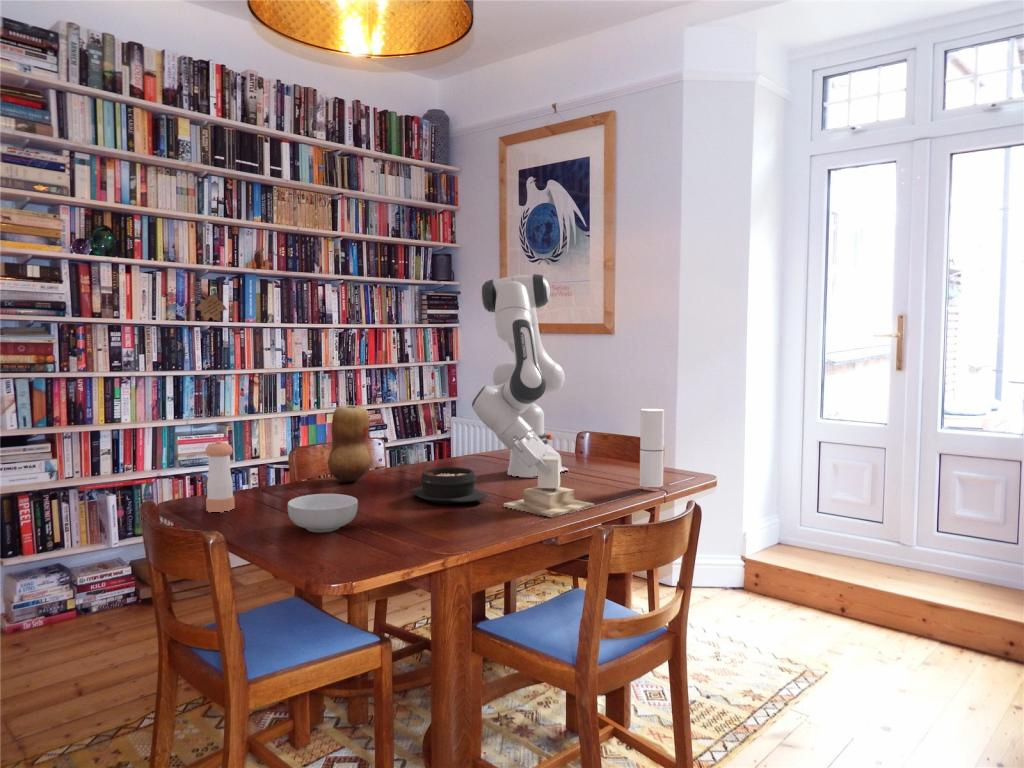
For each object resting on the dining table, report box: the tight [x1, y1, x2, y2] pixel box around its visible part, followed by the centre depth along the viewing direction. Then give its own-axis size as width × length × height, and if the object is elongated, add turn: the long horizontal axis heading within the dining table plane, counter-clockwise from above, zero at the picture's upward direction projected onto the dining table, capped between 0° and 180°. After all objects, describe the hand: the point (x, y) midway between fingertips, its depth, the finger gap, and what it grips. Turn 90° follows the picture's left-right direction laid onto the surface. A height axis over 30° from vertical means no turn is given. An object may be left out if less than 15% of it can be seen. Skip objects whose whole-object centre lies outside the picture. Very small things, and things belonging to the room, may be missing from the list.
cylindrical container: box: [639, 408, 665, 487], centre depth 232 cm, size 7×7×25 cm
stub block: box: [502, 486, 595, 518], centre depth 208 cm, size 18×18×8 cm
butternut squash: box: [327, 404, 371, 483], centre depth 243 cm, size 14×13×25 cm
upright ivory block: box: [537, 455, 561, 488], centre depth 208 cm, size 6×6×8 cm
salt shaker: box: [204, 440, 236, 513], centre depth 204 cm, size 7×7×19 cm
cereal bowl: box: [287, 493, 359, 533], centre depth 185 cm, size 17×17×7 cm
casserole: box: [409, 466, 489, 505], centre depth 218 cm, size 25×19×8 cm
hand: (551, 470), depth 208 cm, fingers closed on upright ivory block, 5 cm apart
